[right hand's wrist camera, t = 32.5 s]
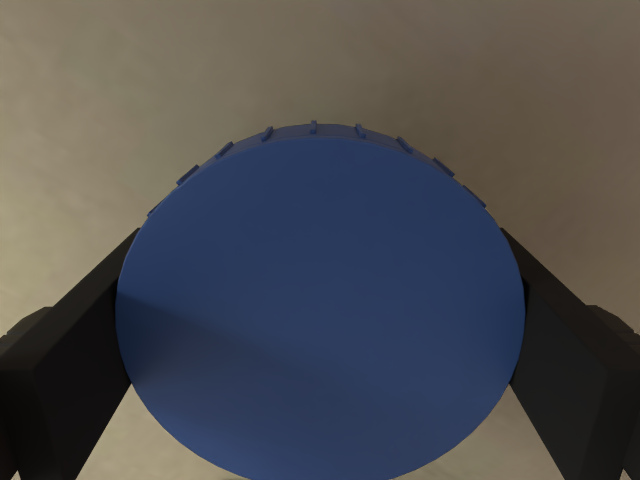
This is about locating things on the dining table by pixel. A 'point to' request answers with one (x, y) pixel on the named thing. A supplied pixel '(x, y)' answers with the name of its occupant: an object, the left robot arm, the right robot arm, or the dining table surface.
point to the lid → (320, 307)
